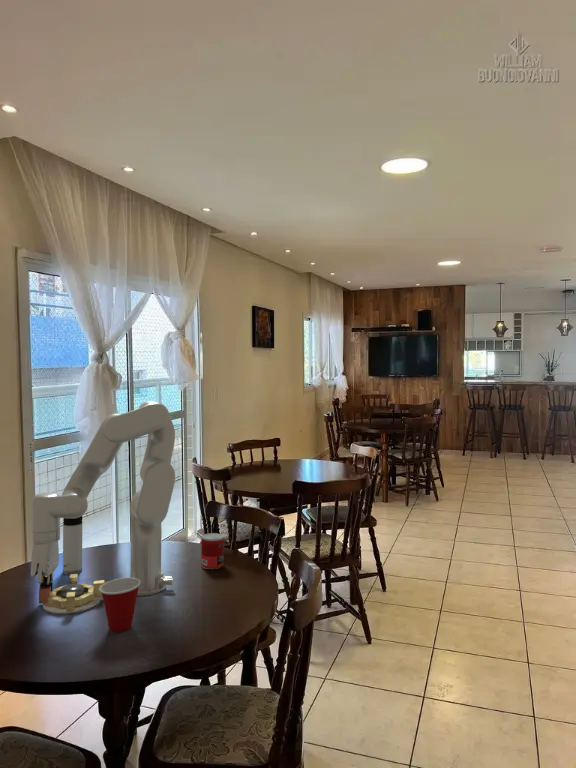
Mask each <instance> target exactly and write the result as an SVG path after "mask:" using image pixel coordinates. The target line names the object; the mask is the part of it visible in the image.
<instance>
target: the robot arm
mask: <svg viewBox="0 0 576 768" xmlns="http://www.w3.org/2000/svg"><path fill="white" fill-rule="evenodd" d="M146 435H147V442H146V447H145V452H144V456H143V459H142V462H141V463H142V464H141V466H140V471H139V475H140V478H141V480H142V486H141V488H140V490H138V491H137V492H135V493H134V494H133V496H132V497H131V499H130V503H129V514H130V516H129V517H130V577H129V578H136V579H139V580H140V581H141V582H140V586H139V589H138V594H137V597H138V596H139V597H140V596H141V597H143V596H144V595H145V596H151V595H156V594H158V592H159V593H161V592H162V590H163V591H164V590H165V589H166V587H167V586H174V584H175V579H174V578H173V576H166V575H165V574H164V573H165V572H164V571H162V536H163V535H162V534H163V533H162V531H163V529H162V523H163V522H164V520H165V518H166V517H167V514H168V512H169V508H170V504H171V500H172V495H173V491H174V487H175V482H176V472H175V469H174V466H173V465H172V464H171V463H172V457H173V453H174V448H175V443H176V442H175V441H176V430H175V426H174V423H173V421H172V419H171V416H170V411H169V409H168V408H167V407H166V406H165V404H163V403H161V402H158V401H154V400H148V401H147V400H146V401H144V402H143V403H141V404H140V405H139V406H138V408H136V409H133V410H130V411H127V412H124V413H121V414H120V413H112V414H111V413H110V414H109V415H107V416H106V417H105V418H104V419H103V421H102V423H101V424H100V426H99V428H98V430H97V431H96V433H95V435H94V437H93V439H92V440H91V443H90V444H89V446H88V448H87V450H86V452H85V453H84V455H83V457H82V458H81V460H79V463H78V465H77V467H76V469H75V470H74V472H73V473H72V474H71V476H70V479H69V480H68V482H67V483H66V485H65V487H64V489H63V491H62V493H61V495H60V494H58V493H55V492H42V493H38V494H36V495H34V496H33V499H32V534H31V536H32V537H31V538H32V543H33V544H32V549H31V559H30V560H31V562H30V576H31V578H35V577H36V583H37V584H39V588H40V587H46V586H51V592H52V591H53V590H54V587H53V586H54V582H53V581H54V572H55V570H56V569H57V568H58V567H59V561H60V551H59V550H60V549H59V541H60V540H61V519H63V518H78V517H81V516H82V517H83V515H85V514H86V512H87V510H88V504H89V503H88V499H87V498H88V496H89V495H90V494H91V491H92V489H93V488H94V486H95V484H96V482H97V481H98V480H99V478H100V477H101V476H102V475H103V474H105V473H106V472H107V471H108V470H109V469H110V467H111V465H113V462H114V460H115V458H116V456H117V455H118V453H119V451H120V449H121V447H122V445H123V444H124V443H127V442H130V441H133V440H135V439H136V440H137V439H139V438H140V437H143V436H146ZM160 591H161V592H160ZM155 593H156V594H155Z"/></svg>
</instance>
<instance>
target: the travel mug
mask: <svg viewBox="0 0 576 768" xmlns="http://www.w3.org/2000/svg"><path fill="white" fill-rule="evenodd" d="M62 519H63V524H62V573H63V574H64V575H70V574H79V573H81V572H82V571H83V515H82V516H81V517H78V518H62Z"/></svg>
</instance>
